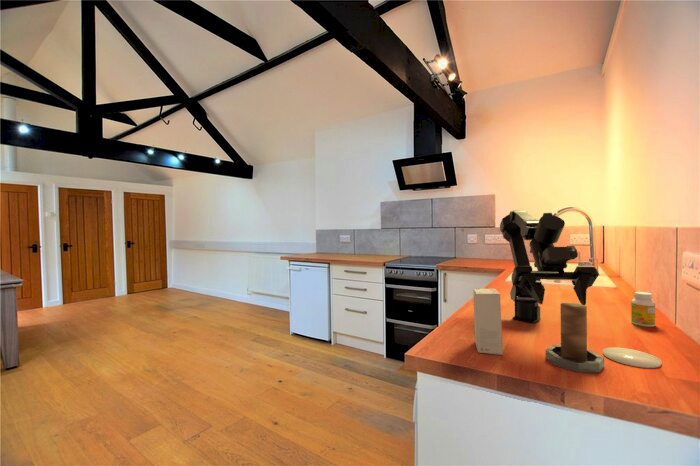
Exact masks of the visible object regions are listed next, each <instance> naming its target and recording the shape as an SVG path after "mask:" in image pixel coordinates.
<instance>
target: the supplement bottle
mask: <svg viewBox="0 0 700 466" xmlns="http://www.w3.org/2000/svg"><path fill="white" fill-rule="evenodd" d="M633 294H634V298H633V299H631V301H630V302H631V304H630V305H631V306H630V307H631V308H630V309H631V310H630V311H631V313H630V314H631V315H630V317H631V318H630V319H631V323H632V324H633V325H636V326H640V327H648V328H649V327H650V328H651V327H655V326H656V302H654V300H652V298H653V294H652V293H651V292H647V291H646V292H645V291H634V293H633Z"/></svg>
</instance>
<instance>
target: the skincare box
mask: <svg viewBox="0 0 700 466" xmlns="http://www.w3.org/2000/svg"><path fill="white" fill-rule="evenodd" d="M472 290H473V321H474V322H473V325H474V342H475V347H476V350H477V353H480V354H490V355H498V356H499V355H500V356H502V355H504V352H503V333H502V332H503V331H502V329H503V328H502V309H501V293H500V292H499V291H498V290H497V289H496V288H473V289H472Z"/></svg>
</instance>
